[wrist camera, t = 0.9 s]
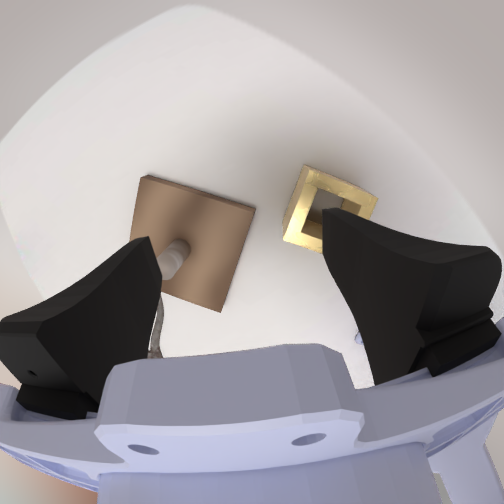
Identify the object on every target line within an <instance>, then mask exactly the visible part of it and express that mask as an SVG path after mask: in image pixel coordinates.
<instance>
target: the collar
mask: <svg viewBox="0 0 504 504" xmlns="http://www.w3.org/2000/svg"><path fill="white" fill-rule="evenodd" d="M318 188H320V189H323V190H326V191H328V192H331V193H333V194H336V195H338V196H340V197H343V198H345V199H344V201H343V204H342V206H341V209H343V210H345V211H348V212H351V213H353V214H355V215H358V216H360V217H362V218H365V219H367V220H369V219H370V217H371V214H372V212H373V210H374V207H375V205H376V202H377V200H378V198H377V197H375V196H373V195H372V194H370V193H368V192H367V191H365V190H363V189H362V188H360V187H358V186H355V185H353V184H351V183H348V182H346V181H344V180H341V179H339V178H336V177H334V176H332V175H329V174H327V173H324V172H322V171H319V170H317V169H314V168H311V167H309V166H306V165H303V168H302V171H301V173H300V176H299V179H298V181H297V184H296V187H295V190H294V192H293V195H292V198H291V200H290V203H289V206H288V208H287V211H286V214H285V216H284V219H283V240H285V241H288V242H290V243H293V244H296V245H299V246H302V247H305V248H307V249H310V250H313V251H316V252H319V253H322V225H321V224H318V223H316V222H313V221H310V220H307V219H306V217H307V215H308V212H309V210H310V207H311V204H312V202H313V199H314V197H315V194H316V192H317V189H318ZM322 254H323V253H322Z"/></svg>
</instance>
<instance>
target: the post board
mask: <svg viewBox="0 0 504 504" xmlns="http://www.w3.org/2000/svg"><path fill="white" fill-rule="evenodd" d="M254 212H255V209H254V208H251V207H248V206H245V205H242V204H239V203H236V202H233V201H230V200H227V199H224V198H221V197H217V196H214V195H211V194H208V193H205V192H202V191H199V190H195V189H192V188H189V187H186V186H182V185H179V184H176V183H173V182H169V181H166V180H162V179H159V178H156V177H152V176H149V175H146V176H143V177H141V178H140V183H139V188H138V193H137V198H136V203H135V209H134V215H133V221H132V227H131V234H130V241H132V240H134V239H136V238H140V237H146V236H149V238H150V241H151V244H152V247H153V250H154V253H155V256H156V259H157V262H158V265H159V267H160V270H161V273H162V287H161V292H164V293H166V294H169V295H172V296H174V297H177V298H180V299H183V300H185V301H188V302H191V303H194V304H196V305H199V306H202V307H205V308H208V309H211V310H214V311H217V312H220V313H221V311H222V308H223V305H224V302H225V299H226V296H227V292H228V289H229V286H230V283H231V280H232V277H233V275H234V272H235V269H236V266H237V263H238V260H239V257H240V254H241V251H242V248H243V245H244V242H245V239H246V236H247V233H248V230H249V227H250V224H251V221H252V218H253V215H254ZM130 241H129V242H130Z"/></svg>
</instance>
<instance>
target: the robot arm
mask: <svg viewBox="0 0 504 504" xmlns="http://www.w3.org/2000/svg"><path fill="white" fill-rule="evenodd" d="M322 253H323V256H324V258H325V261H326V264H327V266H328V269H329V271H330V273H331V275H332V277H333V278H334V280H335V282H336V284H337V286H338V288H339V289H340V291H341V293H342V295H343V297H344V298H345V300H346V302H347V304H348V306H349V308H350V310H351V312H352V314H353V316H354V319H355V321H356V324H357V327H358V329H359V333H358V335H357V336H356V338H355V342H356V343H357V344H361V345H364V347H365V350H366V353H367V357H368V361H369V364H370V368H371V372H372V375H373V380H374V384H375V386H373V387H369V388H364V389H355V388H354V385H353V382H352V380H351V377H350V374H349V372H348V369H347V366H346V364H345V361H344V358H343V356H342V354H341V353H339V352H337V351H335V350H332V349H330V348H328V347H326V346H324V345H321V344H316V343H313V344H282V345H276V346H270V347H263V348H257V349H249V350H242V351H234V352H226V353H217V354H207V355H197V356H185V357H171V358H153V359H147V358H148V347H149V341H150V336H151V332H152V327H153V323H154V319H155V315H156V311H157V307H158V303H159V299H160V295H161V287H162V273H161V270H160V267H159V265H158V262H157V259H156V256H155V253H154V250H153V247H152V244H151V241H150V238H149V236H146V237H140V238H136V239H134V240H132V241H130V242H129V243H127V244H126V245H125V246H123V247H122V248H121V249H119V250H118V251H117V252H116V253H114V254H113V255H112V256H111V257H109V258H108V259H107V260H106V261H104V262H103V263H102V264H101V265H99V266H98V267H97V268H95V269H94V270H93V271H92V272H90V273H89V274H88V275H86V276H85V277H83V278H82V279H81V280H79V281H78V282H76V283H74V284H73V285H71V286H70V287H68V288H67V289H65V290H63V291H61V292H60V293H58V294H56V295H54V296H53V297H51V298H49V299H47V300H45V301H43V302H41V303H39V304H37V305H35V306H32V307H30V308H28V309H25V310H23V311H20V312H18V313H15V314H12V315H9V316H6V317H4V318H3V319H2V320H1V321H0V360H1V362H2V363H3V364H4V365H5V366H6V367H7V368H8V370H9V371H10V372H11V373H12V374H13V375H14V376H15V377H16V378H17V379H18V380H19V381H20V383H22V385H21V388H20V390H18V389H17V388H15V387H13V386H10V385H5V384H2V383H0V449H1V450H3V451H4V452H6V453H7V454H9V455H10V456H12V457H13V458H15V459H16V460H18V461H20V462H22V463H23V464H25V465H27V466H29V467H31V468H34V469H36V470H38V471H41V472H43V473H45V474H47V475H50V476H52V477H55V478H58V479H60V480H63V481H65V482H68V483H70V484H73V485H76V486H79V487H82V488H85V489H88V490H91V491H95V492H98V498H97V504H443V503H442V500H441V497H440V494H439V491H438V488H437V484H436V482H435V478H434V476H433V473H432V472H434V473H439V474H440V476H441V478H442V481H443V483H444V485H445V488H446V490H447V492H448V495H449V497H450V499H451V502H452V504H504V489H503V487H502V484H501V481H500V478H499V476H498V474H497V471H496V468H495V466H494V464H493V461H492V459H491V457H490V454H489V452H488V450H487V447H486V445H485V441H486V438H487V437H488V435H489V433H490V431H491V428H492V426H493V424H494V422H495V419H496V417H497V415H498V412H499V411H500V410H502V409H503V408H504V317H503V318H501V319H500V320H499V321H498V322H497V323H496V324H494V323H493V321H492V320H491V319H490V318H492V316H493V311H492V310H491V309H490V308H489V307H488V306H489V304H490V302H491V300H492V298H493V295H494V293H495V291H496V289H497V286H498V284H499V281H500V278H501V272H502V263H501V259H500V258H499V256H498V255H497V254H496V253H495V252H493V251H492V250H491V249H490V248H488V247H486V246H470V245H458V244H450V243H443V242H437V241H432V240H428V239H423V238H419V237H415V236H411V235H408V234H405V233H401V232H398V231H395V230H392V229H390V228H387V227H384V226H382V225H379V224H377V223H374V222H372V221H369V220H367V219H365V218H362V217H360V216H358V215H355V214H353V213H351V212H348V211H345V210H343V209H340V208H330V209H322Z"/></svg>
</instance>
